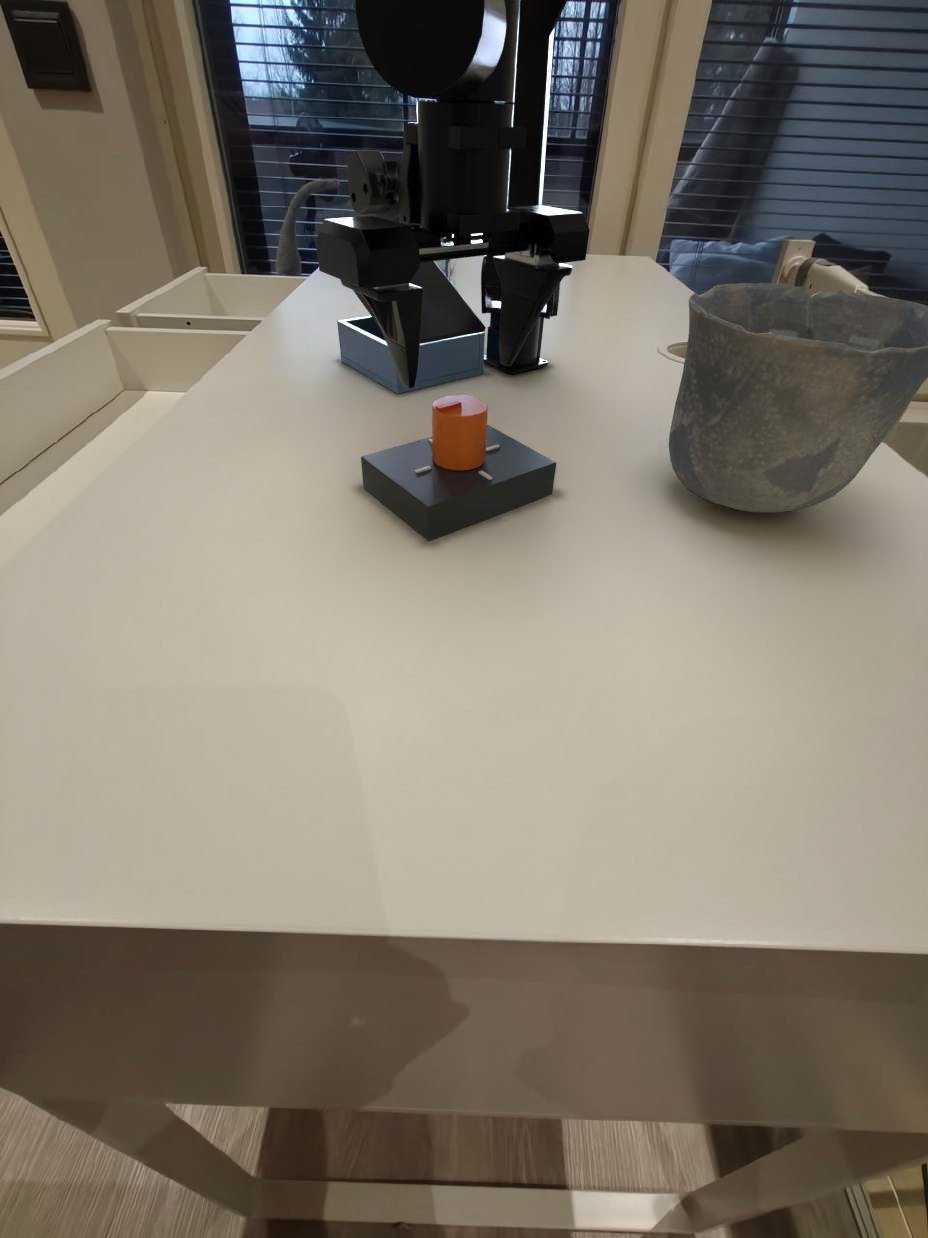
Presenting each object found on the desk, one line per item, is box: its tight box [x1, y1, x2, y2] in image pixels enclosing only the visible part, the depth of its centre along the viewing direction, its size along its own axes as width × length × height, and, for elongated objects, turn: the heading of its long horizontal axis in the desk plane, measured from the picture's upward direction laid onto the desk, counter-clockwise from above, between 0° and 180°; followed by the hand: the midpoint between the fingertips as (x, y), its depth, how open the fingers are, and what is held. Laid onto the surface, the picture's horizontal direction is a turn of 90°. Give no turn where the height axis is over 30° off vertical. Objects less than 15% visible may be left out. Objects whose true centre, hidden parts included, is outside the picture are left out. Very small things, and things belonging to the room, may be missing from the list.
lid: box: [352, 261, 487, 344], centre depth 67 cm, size 14×13×5 cm
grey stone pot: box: [668, 282, 928, 513], centre depth 47 cm, size 18×18×15 cm
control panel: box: [360, 424, 557, 542], centre depth 50 cm, size 13×10×3 cm
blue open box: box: [336, 315, 486, 395], centre depth 73 cm, size 14×13×5 cm
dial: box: [431, 394, 489, 471], centre depth 48 cm, size 4×4×5 cm
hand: (459, 374), depth 45 cm, fingers open, 9 cm apart
